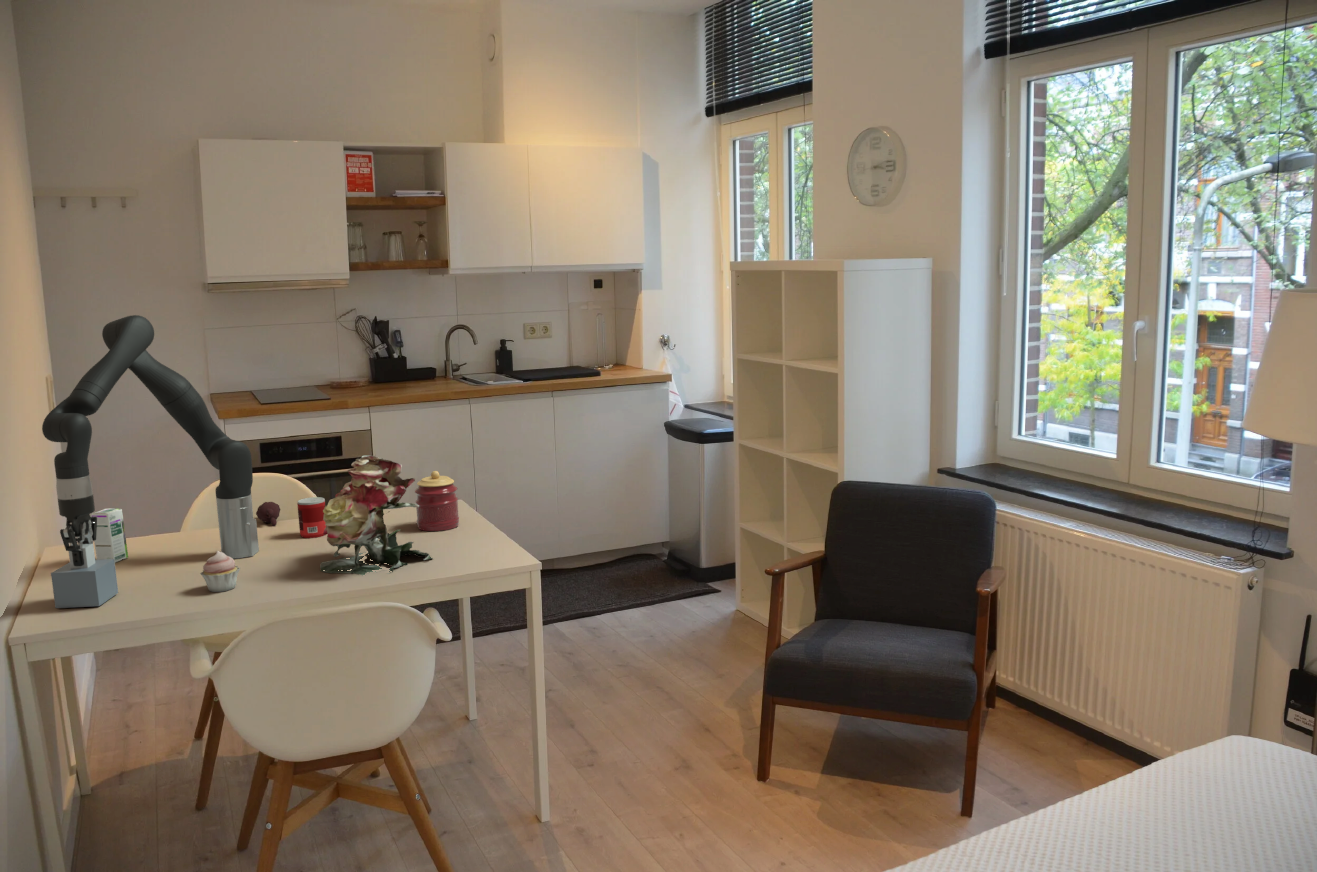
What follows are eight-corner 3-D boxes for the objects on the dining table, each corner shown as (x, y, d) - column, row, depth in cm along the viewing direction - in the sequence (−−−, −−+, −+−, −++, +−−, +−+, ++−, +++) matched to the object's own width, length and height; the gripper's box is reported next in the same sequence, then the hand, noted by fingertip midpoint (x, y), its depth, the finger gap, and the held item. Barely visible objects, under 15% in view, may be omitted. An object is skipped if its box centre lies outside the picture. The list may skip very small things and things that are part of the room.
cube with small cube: (118, 592, 254) (111, 539, 252) (99, 605, 244) (92, 550, 242) (76, 594, 253) (69, 541, 251) (55, 608, 243) (48, 552, 241)
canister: (426, 521, 321) (422, 466, 318) (465, 521, 320) (462, 466, 317) (410, 531, 309) (406, 475, 306) (451, 532, 307) (448, 475, 304)
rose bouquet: (361, 546, 293) (353, 445, 288) (442, 556, 281) (435, 450, 276) (295, 571, 271) (285, 461, 266) (380, 583, 258) (371, 468, 253)
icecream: (250, 500, 329) (256, 513, 316) (272, 492, 331) (280, 504, 319) (257, 519, 331) (264, 532, 318) (279, 510, 334) (287, 524, 321)
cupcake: (214, 582, 262) (210, 545, 260) (248, 583, 261) (244, 545, 259) (194, 594, 253) (190, 555, 251) (229, 594, 252) (225, 555, 250)
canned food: (332, 533, 309) (330, 498, 307) (311, 539, 302) (308, 503, 300) (316, 530, 313) (313, 496, 311) (294, 536, 306) (291, 501, 304)
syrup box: (114, 563, 282) (108, 513, 279) (96, 562, 283) (89, 512, 281) (128, 557, 287) (123, 508, 285) (110, 557, 289) (104, 507, 286)
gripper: (76, 500, 237) (85, 570, 240) (104, 487, 251) (112, 554, 254) (43, 502, 237) (52, 572, 240) (73, 489, 251) (81, 555, 254)
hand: (83, 562), depth 247 cm, fingers closed on cube with small cube, 4 cm apart
